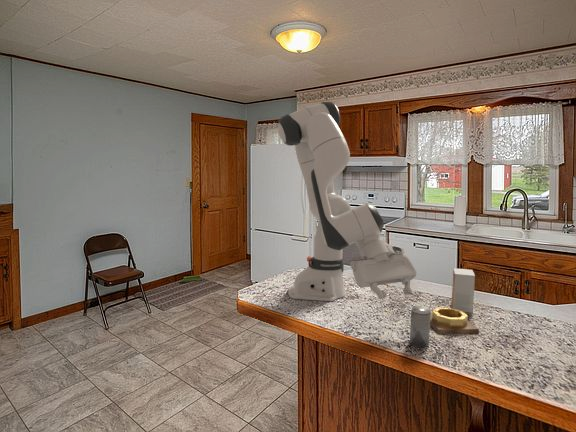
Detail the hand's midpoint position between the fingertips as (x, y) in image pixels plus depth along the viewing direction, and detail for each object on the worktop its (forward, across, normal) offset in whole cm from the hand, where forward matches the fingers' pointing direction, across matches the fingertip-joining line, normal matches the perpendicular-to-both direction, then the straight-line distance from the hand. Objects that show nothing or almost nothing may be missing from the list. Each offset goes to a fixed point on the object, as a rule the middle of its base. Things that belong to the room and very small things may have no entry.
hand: (396, 295), depth 104 cm
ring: (+8, +20, +6) cm, 22 cm away
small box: (+3, +35, +13) cm, 38 cm away
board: (+9, +20, +7) cm, 23 cm away
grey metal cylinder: (+13, +2, +3) cm, 14 cm away
